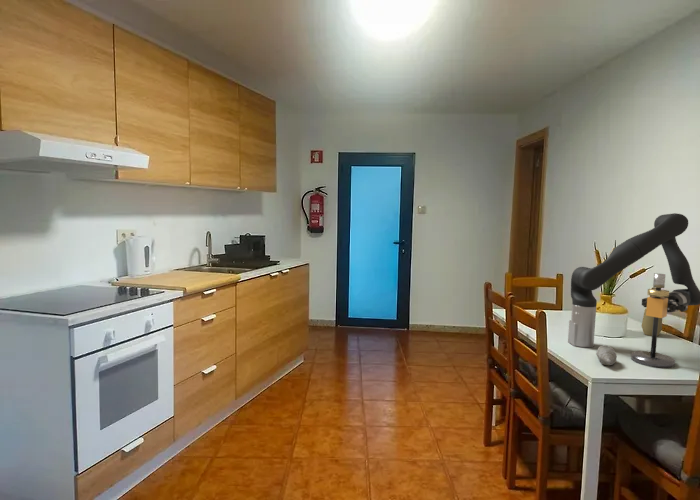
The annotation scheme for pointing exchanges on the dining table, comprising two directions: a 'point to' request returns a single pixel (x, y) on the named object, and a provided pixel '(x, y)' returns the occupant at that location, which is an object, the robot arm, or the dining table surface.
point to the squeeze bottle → (650, 325)
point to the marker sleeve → (657, 307)
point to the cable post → (655, 333)
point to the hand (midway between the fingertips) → (657, 306)
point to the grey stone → (606, 355)
